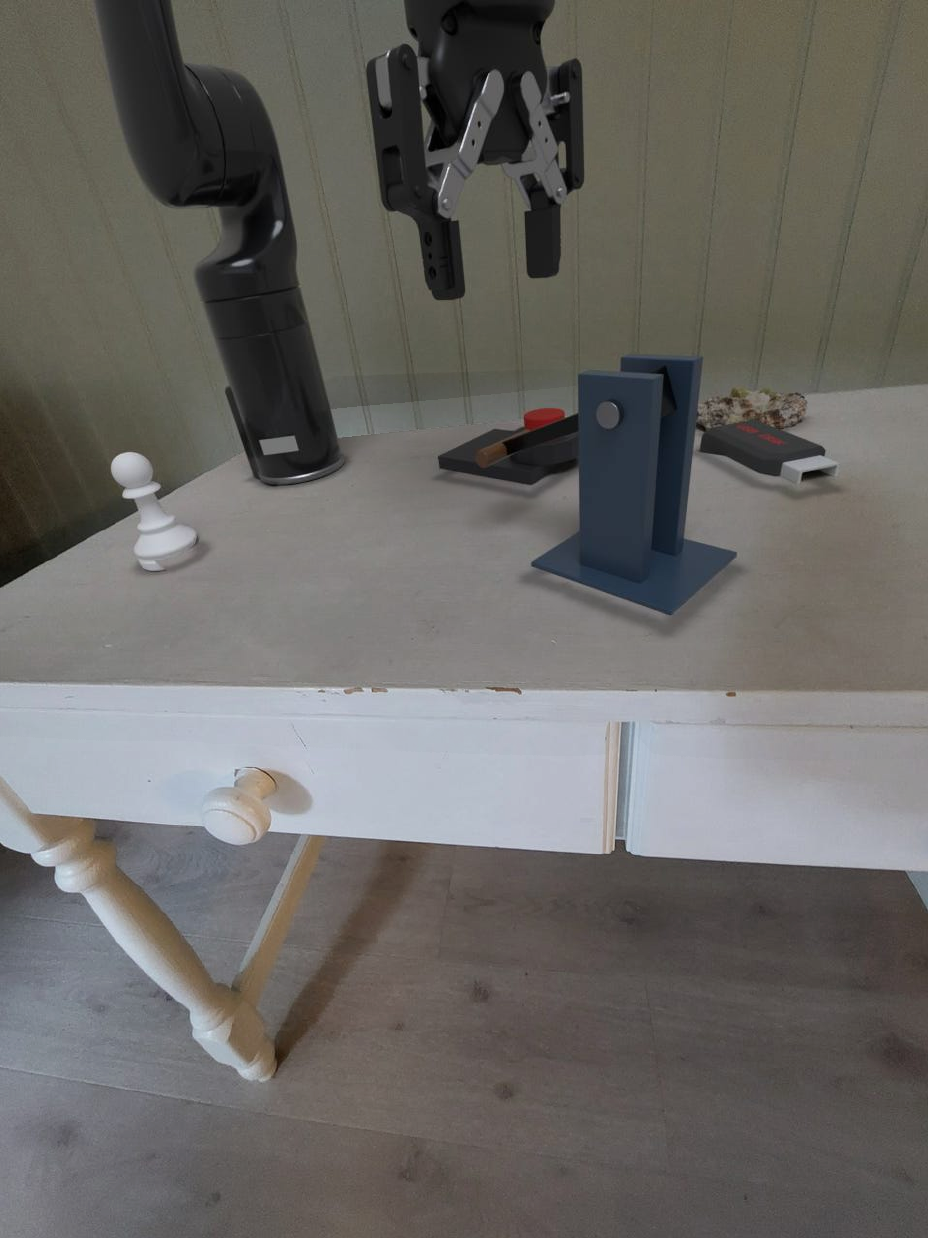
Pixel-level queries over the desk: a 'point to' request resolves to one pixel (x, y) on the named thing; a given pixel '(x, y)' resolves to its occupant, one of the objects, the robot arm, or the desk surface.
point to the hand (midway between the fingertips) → (498, 287)
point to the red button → (542, 417)
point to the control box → (512, 458)
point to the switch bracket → (637, 487)
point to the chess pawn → (150, 513)
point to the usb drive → (767, 450)
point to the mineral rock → (752, 408)
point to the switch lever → (558, 429)
